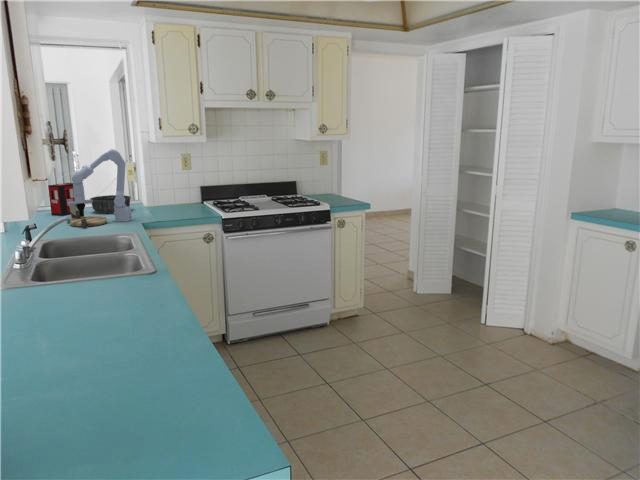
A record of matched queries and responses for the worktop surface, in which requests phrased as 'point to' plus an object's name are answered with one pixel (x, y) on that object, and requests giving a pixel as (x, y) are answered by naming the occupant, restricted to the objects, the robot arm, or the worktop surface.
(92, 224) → the turntable
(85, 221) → the pointer post
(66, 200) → the cleaning product box
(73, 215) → the food container
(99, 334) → the worktop surface
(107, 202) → the bundt pan
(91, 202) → the robot arm
